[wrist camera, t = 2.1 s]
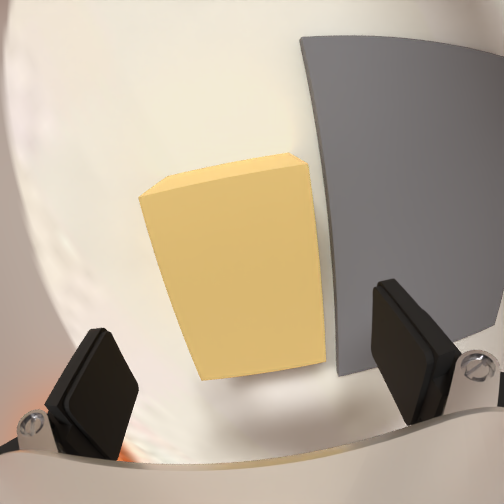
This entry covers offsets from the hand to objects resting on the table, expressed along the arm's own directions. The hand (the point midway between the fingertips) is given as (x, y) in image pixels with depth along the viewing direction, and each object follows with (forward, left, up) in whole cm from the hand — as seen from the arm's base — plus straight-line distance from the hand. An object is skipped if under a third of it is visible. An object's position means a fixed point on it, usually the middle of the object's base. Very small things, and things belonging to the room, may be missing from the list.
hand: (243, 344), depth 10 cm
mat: (-1, +12, -7) cm, 13 cm away
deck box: (-1, 0, -7) cm, 7 cm away
